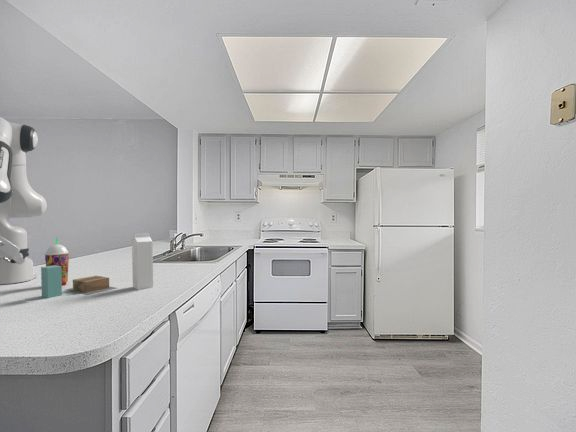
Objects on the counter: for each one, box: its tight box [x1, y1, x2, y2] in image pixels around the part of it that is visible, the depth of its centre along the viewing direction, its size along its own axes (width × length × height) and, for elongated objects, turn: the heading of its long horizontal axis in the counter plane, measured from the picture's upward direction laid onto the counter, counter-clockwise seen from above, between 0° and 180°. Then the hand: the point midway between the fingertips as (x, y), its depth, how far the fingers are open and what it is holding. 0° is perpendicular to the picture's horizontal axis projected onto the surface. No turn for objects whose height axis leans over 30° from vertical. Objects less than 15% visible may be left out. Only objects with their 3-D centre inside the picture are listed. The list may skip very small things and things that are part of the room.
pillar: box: [40, 265, 63, 299], centre depth 121 cm, size 4×4×11 cm
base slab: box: [72, 275, 110, 293], centre depth 131 cm, size 9×9×4 cm
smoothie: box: [44, 237, 70, 287], centre depth 138 cm, size 8×8×20 cm
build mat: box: [64, 285, 118, 296], centre depth 131 cm, size 16×12×1 cm
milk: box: [131, 232, 154, 290], centre depth 134 cm, size 6×6×22 cm
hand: (15, 261), depth 111 cm, fingers open, 8 cm apart
